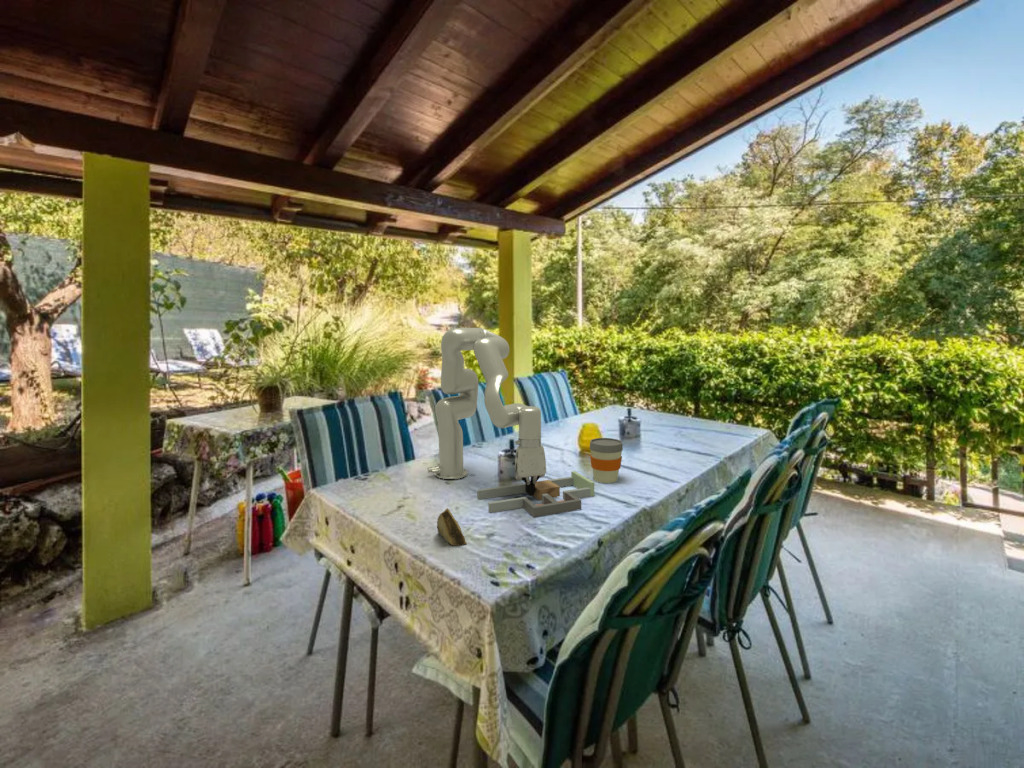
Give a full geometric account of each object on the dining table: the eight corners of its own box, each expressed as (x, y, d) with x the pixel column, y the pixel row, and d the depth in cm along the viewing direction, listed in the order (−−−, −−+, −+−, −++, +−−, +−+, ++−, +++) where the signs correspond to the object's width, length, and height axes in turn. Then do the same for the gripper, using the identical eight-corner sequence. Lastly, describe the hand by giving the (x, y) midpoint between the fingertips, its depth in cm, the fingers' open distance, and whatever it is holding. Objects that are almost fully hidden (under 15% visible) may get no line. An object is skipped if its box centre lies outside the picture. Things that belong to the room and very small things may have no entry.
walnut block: (539, 501, 163) (539, 490, 162) (528, 493, 170) (528, 483, 169) (559, 497, 166) (559, 486, 165) (548, 490, 173) (548, 479, 173)
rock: (428, 524, 138) (426, 534, 128) (445, 500, 139) (444, 508, 129) (458, 545, 139) (458, 556, 129) (475, 520, 140) (477, 530, 130)
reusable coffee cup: (623, 476, 187) (624, 439, 186) (620, 486, 176) (621, 447, 174) (592, 473, 192) (592, 436, 190) (586, 482, 180) (586, 444, 178)
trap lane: (498, 523, 144) (498, 507, 143) (477, 498, 165) (476, 484, 164) (607, 504, 158) (607, 490, 157) (574, 483, 179) (574, 471, 178)
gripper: (513, 447, 156) (514, 501, 158) (554, 443, 161) (554, 495, 163) (505, 442, 163) (506, 493, 165) (545, 438, 168) (545, 488, 170)
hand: (530, 494), depth 164 cm, fingers closed
